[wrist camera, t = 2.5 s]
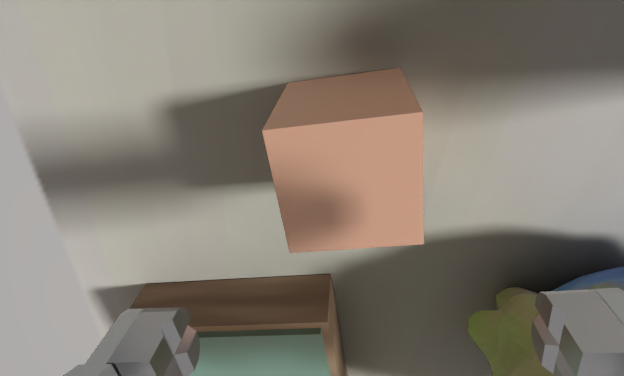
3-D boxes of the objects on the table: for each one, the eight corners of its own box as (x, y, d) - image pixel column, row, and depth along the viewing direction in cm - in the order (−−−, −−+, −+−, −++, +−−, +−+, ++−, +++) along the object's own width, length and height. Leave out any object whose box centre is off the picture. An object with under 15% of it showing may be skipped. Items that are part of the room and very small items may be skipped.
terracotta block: (288, 82, 17) (261, 130, 12) (399, 67, 17) (423, 111, 11) (305, 178, 20) (289, 252, 15) (403, 169, 19) (424, 244, 14)
